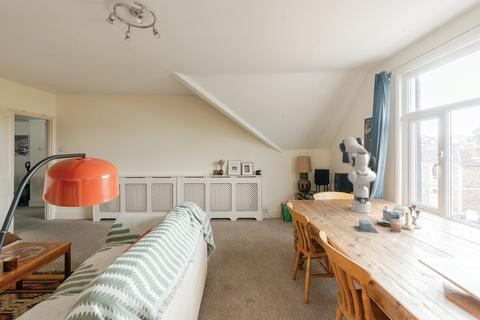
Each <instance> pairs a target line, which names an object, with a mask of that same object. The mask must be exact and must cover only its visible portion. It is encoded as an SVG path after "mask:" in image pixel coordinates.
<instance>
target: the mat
mask: <svg viewBox="0 0 480 320" xmlns="http://www.w3.org/2000/svg"><path fill="white" fill-rule="evenodd" d="M353 228H354V229H355V231H356V232H361V233H363V232H365V233H375V234H379V231H378V230H377V229H376V228H375V227H372V226H371V231H364V230H361V228H360V226H359V225H353Z"/></svg>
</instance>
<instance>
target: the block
mask: <svg viewBox="0 0 480 320" xmlns="http://www.w3.org/2000/svg"><path fill="white" fill-rule="evenodd" d="M358 221H359V222H358V226H360V228H361V230H364V231H371V227H372V223H371V222H370V221H369V219H358Z"/></svg>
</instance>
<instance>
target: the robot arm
mask: <svg viewBox="0 0 480 320" xmlns="http://www.w3.org/2000/svg"><path fill="white" fill-rule="evenodd" d="M338 149H339V151H340V153H347V155H348V160H349V163H350V166H351V167H352V169H353V170H352V171H350V172H348V175H347V178H348V181H349V182H351V184H352V185H353V186H354V193H355V194H354V200H353V202H351V206H350V211H351V212H356V213H360V214H361V213H362V214H369V213H373V210H372V209H371V208H372V204H371V202H370V201H369V200H370V198H369V188H368V187H366V186H367V183H370V182H371V183H373V182H374V181H376V179H377V173H376V172H375V171H373V170H371V168H373V167H375V166H376V164H377V159H376V157H375V156H373V154H371V153H370V151H369V150H368V149H367V148H366V147H364V141H363V139H362V138H361V137H354V136H347V137H346V138H345V139H344V141H343V142H340V143H339V145H338Z"/></svg>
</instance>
